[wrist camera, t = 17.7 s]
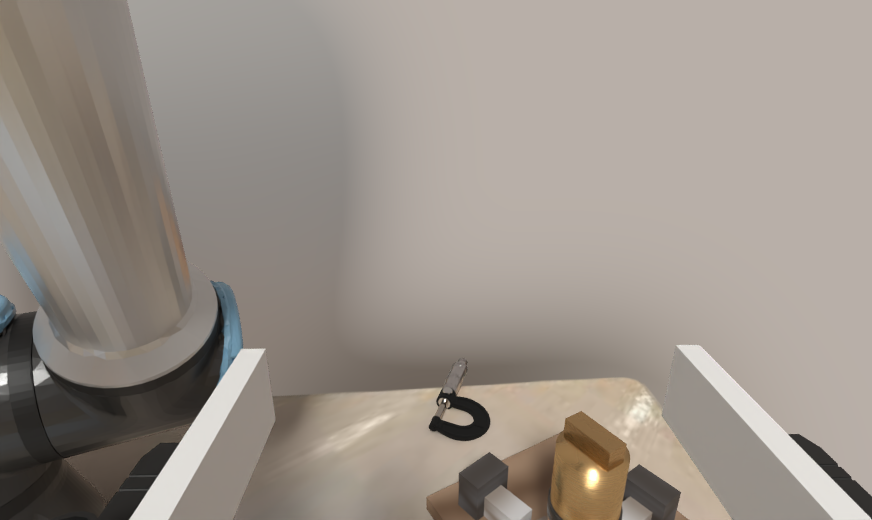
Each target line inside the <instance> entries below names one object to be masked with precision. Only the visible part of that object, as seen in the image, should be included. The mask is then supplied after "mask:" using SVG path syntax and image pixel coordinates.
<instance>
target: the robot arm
mask: <svg viewBox="0 0 872 520" xmlns="http://www.w3.org/2000/svg"><path fill="white" fill-rule="evenodd" d="M0 243H1V245H2V246H3V248H4V249H5V251H6V252H7V254H8V255H9V257H10V258H11V260H12V262H13V263H14V265H15V266H16V268H17V270H18V271H19V273H20V274H21V276H22V277H23V279H24V280H25V282H26V284H27V285H28V287H29V288H30V290H31V291H32V293H33V295H34V296H35V298H36V299H37V301H38V302H39V304H40V306H39V308H38V311H36V312H29V313H23V314H16V309H15V305H14V304H13V303H11V302H10V301H9V300H8V299H7V298H6V297H5V296H2V295H0V520H233V519H234V516H235V514H236V512H237V509H238V507H239V505H240V502H241V500H242V498H243V495H244V493H245V491H246V488H247V486H248V484H249V481H250V479H251V476H252V474H253V472H254V469H255V467H256V465H257V462H258V460H259V458H260V455H261V453H262V451H263V448H264V446H265V444H266V441H267V439H268V437H269V434H270V432H271V430H272V427H273V425H274V423H275V420H276V418H275V411H274V404H273V397H272V390H271V383H270V376H269V370H268V362H267V354H266V349H243V339H242V331H241V323H240V317H239V312H238V307H237V303H236V299H235V296H234V293H233V291H232V289H231V288H230V286H229V285H226V284H225V283H223V282H213V281H210V280H209V279H208V277H207V276H206V275H205V273H203V271H202V270H200V269H199V268H198V267H196V266H195V265H194V264H192V263H190V262H189V261H187V260H186V257H185V252H184V248H183V244H182V240H181V235H180V230H179V226H178V222H177V217H176V213H175V208H174V204H173V200H172V195H171V191H170V186H169V182H168V178H167V174H166V169H165V165H164V160H163V156H162V152H161V147H160V143H159V138H158V134H157V130H156V125H155V121H154V116H153V112H152V108H151V104H150V99H149V95H148V90H147V86H146V82H145V77H144V73H143V68H142V64H141V60H140V55H139V51H138V46H137V43H136V38H135V34H134V29H133V25H132V20H131V16H130V12H129V8H128V3H127V0H0ZM662 417H663V418H664V420H665V421H666V423H667V424H668V425H669V427H670V428H671V430H672V431H673V433H674V434H675V436H676V437H677V439H678V440H679V442H680V443H681V445H682V446H683V447H684V449H685V450H686V452H687V453H688V455H689V456H690V458H691V459H692V461H693V462H694V464H695V465H696V467H697V468H698V470H699V471H700V472H701V474H702V475H703V477H704V478H705V480H706V481H707V483H708V484H709V486H710V487H711V489H712V490H713V492H714V493H715V495H716V496H717V497H718V499H719V500H720V502H721V503H722V505H723V506H724V508H725V509H726V511H727V512H728V514H729V515H730V517H731V518H732V520H872V496H871V495H870V494H868V493H867V492H866V491H865V490H864V489H863V488H862V487H861V486H860V485H859V484H858V483H857V482H856V481H855V480H852V479H851V476H850V475H849V474H848V473H846V471H845V470H844V469H842V468H841V467H838V464H837V463H836V462H835V461H834V460H833V459H832V458H831V457H830V456H829V455H828V454H827V453H826V452H825V451H824V450H823V449H822V448H820V447H819V446H817V445H816V444H814V443H812V442H811V441H809V440H807V439H806V438H804V437H802V436H801V435H799V434H787V433H786V432H785V431H784V430H783V429H782V428H781V427H780V426H779V425H778V424H777V423H776V422H775V421H774V420H773V419H772V418H771V417H770V416H769V415H768V414H767V413H766V412H765V411H764V410H763V409H762V408H761V407H760V406H759V405H758V404H757V403H756V402H755V401H754V400H753V399H752V398H751V397H750V396H749V395H748V394H747V393H746V392H745V391H744V390H743V389H742V388H741V387H740V386H739V385H738V384H737V382H736V381H735V380H734V379H733V378H732V377H730V376H729V374H727V372H726V371H725V370H724V369H723V368H722V367H721V366H720V365H719V364H718V363H717V362H716V361H714V359H713V358H712V357H711V356H710V355H709V354H708V353H707V352H706V351H705V350H704V349H703V348H702V347H701V346H700V345H676V347H675V352H674V357H673V362H672V367H671V372H670V377H669V382H668V387H667V392H666V396H665V401H664V406H663V411H662ZM188 425H190V428H189V430H188V431H187V433H186V434H185V436H184V437H183V439H182V440H181V442H180V443H160V444H159V445H157V446H156V447H155V448H154V449H152V450H151V451H150V452H148V453H147V454H146V455H145V456H143V457H142V458H141V459H140V461H139V462H138V464H137V465H136V466H135V468H134V469H133V470H132V472H131V473H130V476H129V478H127V479H126V480H125V481H124V483H123V484H122V485H121V487H120V488H119V492H116V494H115V495H114V496H113V498H112V499H111V501H110V502H109V503H108V505H107V506H106V507H105V504H104V501H103V499H102V497H101V495H100V494H99V493H98V491H97V490H96V489H95V488H94V487H93V486H92V485H91V484H90V483H89V482H88V481H86V480H85V479H84V478H83V477H82V476H81V475H80V474H79V473H78V472H77V471H76V470H75V469H74V468H73V467H72V466H71V465H70V464H69V463H67V462H66V461H65V460H64V458H68V457H70V456H74V455H78V454H82V453H86V452H89V451H93V450H97V449H101V448H104V447H108V446H112V445H116V444H120V443H123V442H127V441H131V440H135V439H139V438H142V437H146V436H150V435H154V434H157V433H161V432H165V431H169V430H173V429H176V428H180V427H184V426H188Z"/></svg>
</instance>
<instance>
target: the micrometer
mask: <svg viewBox="0 0 872 520" xmlns="http://www.w3.org/2000/svg"><path fill="white" fill-rule="evenodd" d="M466 365H467V360H466V359H465V358H460V359H459V361H458V362H455V363H454V364H453V366H452V368H451V371H450V373H449V375H448V377H447V379H446V381H445V384H444V386H443V388H442V390H441V392H440V394H439V396H438V398H437V405H438V406H439V408H438V410H437V412H436V414H435V416H434V417H433V418H432V421H431V423H430V425H429V429H430V430H432V431H436V430H437V431H438V432H440V433H442V434H443V435H445V436H447V437H449V438H452V439H455V440H460V441H470V440H474V439H477V438H479V437H481V436H482V435H484V434H485V433H486V432H487V430H488V429H489V426H490V417H489V414H488V412H487V411H486V410H485V408H484V407H483V406H481V405H480V404H479V403H477V402H475V401H473V400H471V399H468V398H464V397H457V396H456V395H457V393H458V390H459V388H460V387H461V384H462V381H463V379H464V376H465V375H466V373H467V366H466ZM451 407H454V408H457V409H460V410H464V411H466V412H468V413H469V414H471V415H472V417H473V419H474V422H473V423H472V424H470V425H467V426H459V425H456V424H453V423H449V422H446V421H443V420H441V417H442V415H443V413H444V410H445V408H446V409H450V408H451Z"/></svg>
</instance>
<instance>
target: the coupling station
mask: <svg viewBox="0 0 872 520" xmlns="http://www.w3.org/2000/svg"><path fill="white" fill-rule="evenodd" d="M559 434H560V433H559ZM559 434H557V435H555V436H553V437H551V438H549V439H546V440H544V441H542V442H540V443H538V444H536V445H534V446H532V447H530V448H528V449H526V450H523V451H521V452H519V453H517V454H515V455H513V456H511V457H509V458H507V459H505V460H503V461H501V460H499V459H498V458H497V457H495V456H494V455H493V454H491V453H490V452H489V453H488V454H486V455H485V456H483V457H482V458H480V459H479V460H477V461H476V462H475V463H473V464H472V465H470V466H469V467H467V468H466V469H464V470H463V471H462V472H460V473H459V482H457V483H455V484H453V485H451V486H448V487H446V488H444V489H442V490H440V491H438V492H436V493H434V494H432V495H430V496H428V497H427V510H428V512H429V513H430V514H431V516H432V517H433V519H434V520H547V519H548V514H547V501H548V492H549V489H550V487H551V483H552V474H553V465H554V456H555V447H556V440H557V437H558V435H559ZM680 494H681V492H680V491H678V490H677V489H675V488H674V487H672V486H671V485H669V484H668V483H666V482H665V481H663V480H662V479H660V478H659V477H657V476H656V475H654V474H653V473H651V472H650V471H648V470H647V469H645V468H644V467H642V466H641V465H638V466H637V467H635V468H634V469H633V470H631V471H630V472H628V474H627V480H626V485H625V491H624V496H623V502H622V509H623V514H622V520H688V519H687V518H686V517H684V516H683V515H682V514H681V513H679V512H678V511H677V506H678V502H679V498H680Z"/></svg>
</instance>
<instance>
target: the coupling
mask: <svg viewBox="0 0 872 520" xmlns="http://www.w3.org/2000/svg"><path fill="white" fill-rule="evenodd" d="M626 445H627V444H626V443H624V442H623V441H622V440H620V439H619V438H618V437H616V436H615V435H613V434H612V433H611V432H609V431H608V430H606V429H605V428H604V427H602V426H601V425H600V424H598V423H597V422H596V421H594V420H593V419H591V418H590V417H589V416H587V415H586V414H585V413H583V412H582V411H581V412H579V413H576V414H574V415H572V416H570V417H568V418H566V419H565V427H564V430H563V431H562V432H561V433H560V434H559V435H558V437H557V440H556V447H555V456H554V465H553V474H552V483H551V487H550V489H549V492H548V501H547V514H548V519H547V520H622V514H623V509H622V502H623V496H624V491H625V485H626V480H627V474H628V469H629V463H630V454H629V451H628V449H627V447H626Z"/></svg>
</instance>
